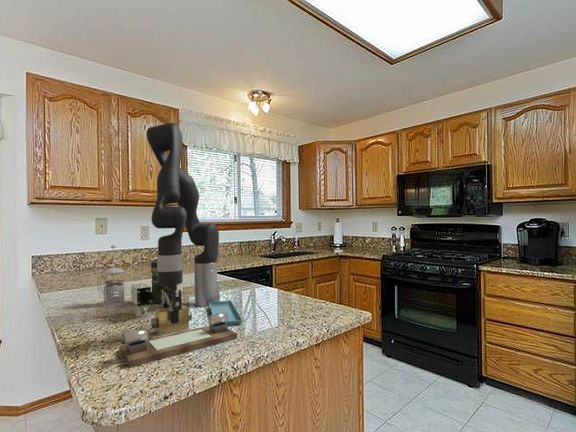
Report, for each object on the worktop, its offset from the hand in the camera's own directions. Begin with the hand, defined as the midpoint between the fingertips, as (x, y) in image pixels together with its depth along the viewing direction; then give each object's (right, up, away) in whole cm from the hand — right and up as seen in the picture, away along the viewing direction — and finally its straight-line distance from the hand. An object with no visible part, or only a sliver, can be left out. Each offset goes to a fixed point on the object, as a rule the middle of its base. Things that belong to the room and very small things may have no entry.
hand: (170, 319), depth 104 cm
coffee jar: (-17, -4, +37) cm, 41 cm away
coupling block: (0, -3, 0) cm, 3 cm away
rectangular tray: (+14, -4, +16) cm, 21 cm away
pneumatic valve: (-17, -4, +17) cm, 24 cm away
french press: (-37, -5, +34) cm, 51 cm away
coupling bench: (+7, -3, -12) cm, 15 cm away
